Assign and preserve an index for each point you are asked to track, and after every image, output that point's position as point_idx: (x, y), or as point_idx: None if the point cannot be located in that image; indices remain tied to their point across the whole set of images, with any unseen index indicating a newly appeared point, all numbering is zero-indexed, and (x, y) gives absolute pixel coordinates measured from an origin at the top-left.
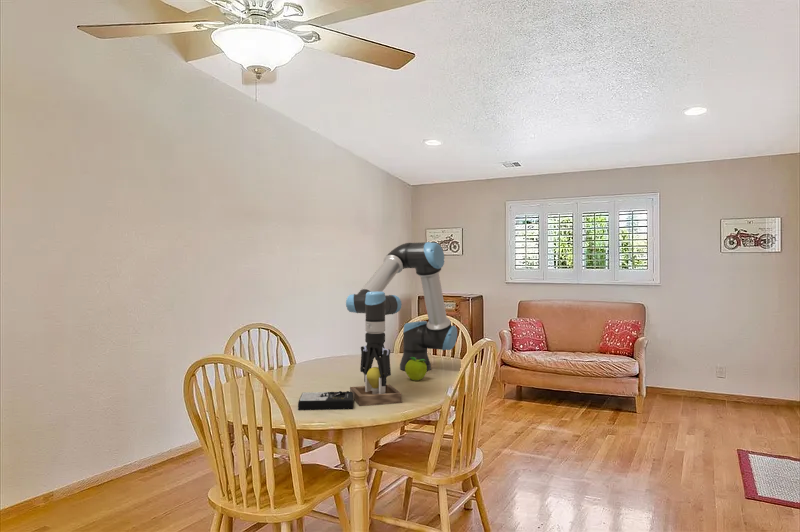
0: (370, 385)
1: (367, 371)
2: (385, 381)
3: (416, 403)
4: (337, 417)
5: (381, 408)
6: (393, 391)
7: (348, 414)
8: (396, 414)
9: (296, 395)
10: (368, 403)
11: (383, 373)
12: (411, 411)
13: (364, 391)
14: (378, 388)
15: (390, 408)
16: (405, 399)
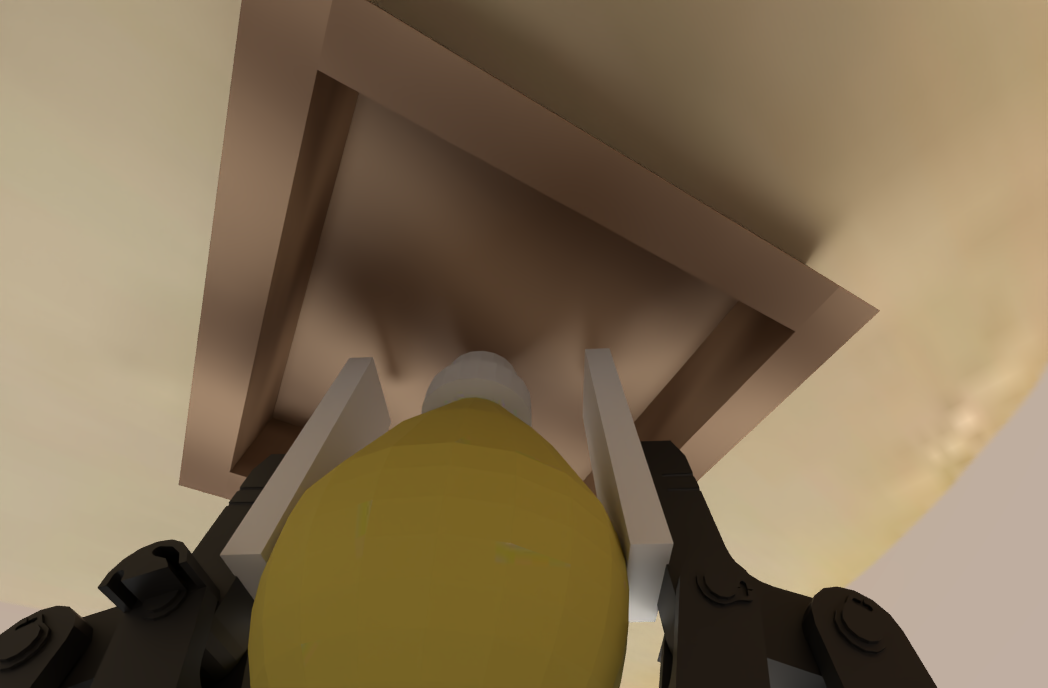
0: (352, 418)
1: (212, 661)
2: (699, 512)
3: (996, 157)
4: (639, 660)
5: (737, 481)
6: (676, 264)
7: (647, 624)
8: (918, 503)
9: (74, 602)
10: None
11: (610, 595)
12: (1018, 400)
13: (276, 358)
14: (527, 417)
15: (802, 445)
16: (772, 106)
